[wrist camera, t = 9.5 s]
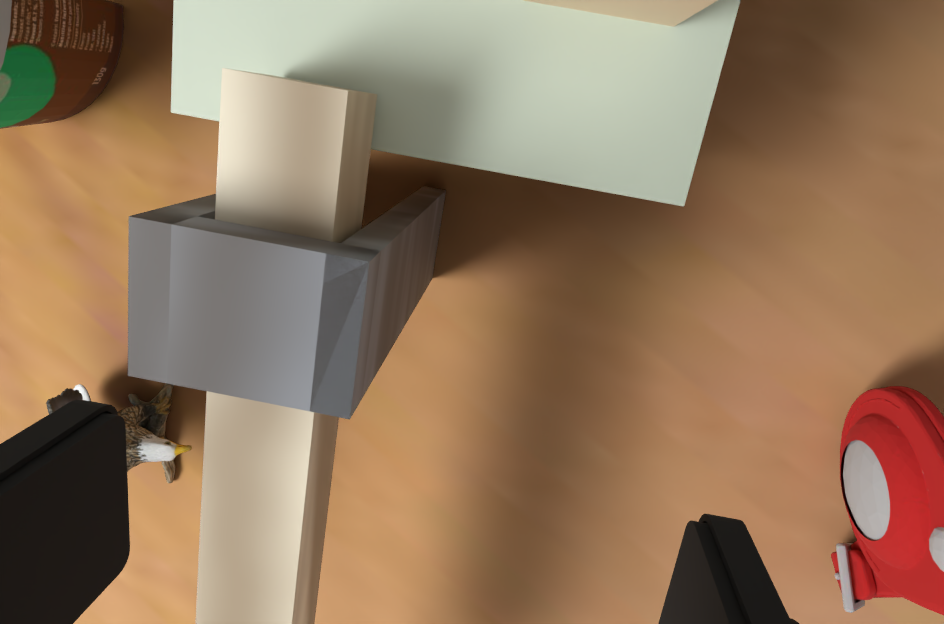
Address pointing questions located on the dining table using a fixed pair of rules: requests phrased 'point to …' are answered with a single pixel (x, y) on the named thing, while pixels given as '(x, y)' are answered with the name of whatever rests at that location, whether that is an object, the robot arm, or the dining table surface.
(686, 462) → the dining table surface
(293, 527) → the cream wooden bar
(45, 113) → the food container
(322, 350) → the toolbox
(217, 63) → the lid
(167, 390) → the eagle figurine
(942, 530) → the tracker holder
